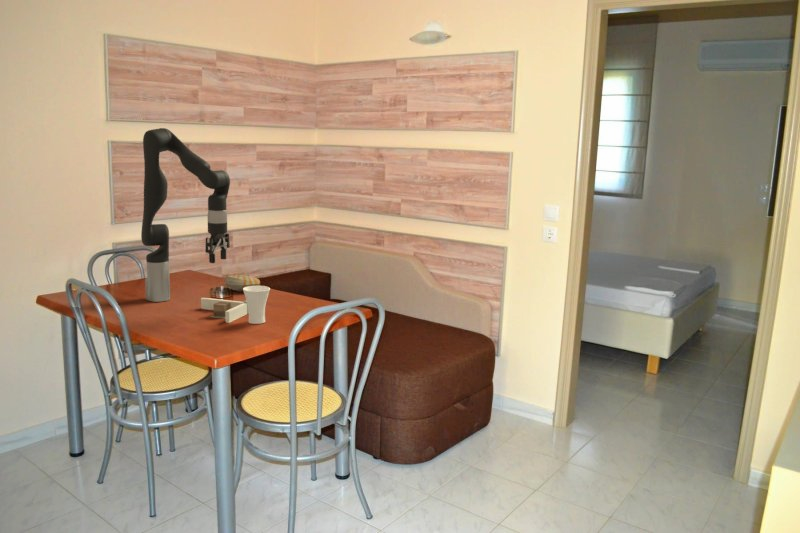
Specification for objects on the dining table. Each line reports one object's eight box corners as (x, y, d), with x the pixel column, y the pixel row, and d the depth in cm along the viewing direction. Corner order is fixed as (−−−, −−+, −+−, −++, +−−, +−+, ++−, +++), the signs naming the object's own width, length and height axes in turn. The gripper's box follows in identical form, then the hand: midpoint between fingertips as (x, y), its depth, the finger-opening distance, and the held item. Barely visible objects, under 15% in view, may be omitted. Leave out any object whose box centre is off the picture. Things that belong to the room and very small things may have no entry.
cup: (257, 327, 254) (256, 292, 251) (237, 322, 259) (236, 288, 256) (276, 321, 262) (275, 288, 260) (256, 317, 268) (256, 284, 265)
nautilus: (212, 289, 315) (239, 286, 327) (238, 294, 301) (265, 291, 312) (212, 272, 315) (238, 270, 326) (238, 277, 300) (265, 274, 311)
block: (224, 317, 265) (224, 305, 264) (213, 316, 266) (213, 304, 265) (231, 314, 270) (231, 302, 269) (220, 313, 271) (220, 301, 270)
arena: (180, 317, 264) (180, 304, 263) (203, 307, 279) (203, 295, 278) (229, 322, 258) (229, 310, 257) (249, 312, 273) (249, 300, 272)
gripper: (216, 224, 256) (216, 265, 259) (234, 219, 269) (235, 258, 272) (199, 222, 258) (199, 263, 261) (218, 218, 271) (219, 257, 274)
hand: (218, 261), depth 267 cm, fingers open, 8 cm apart
